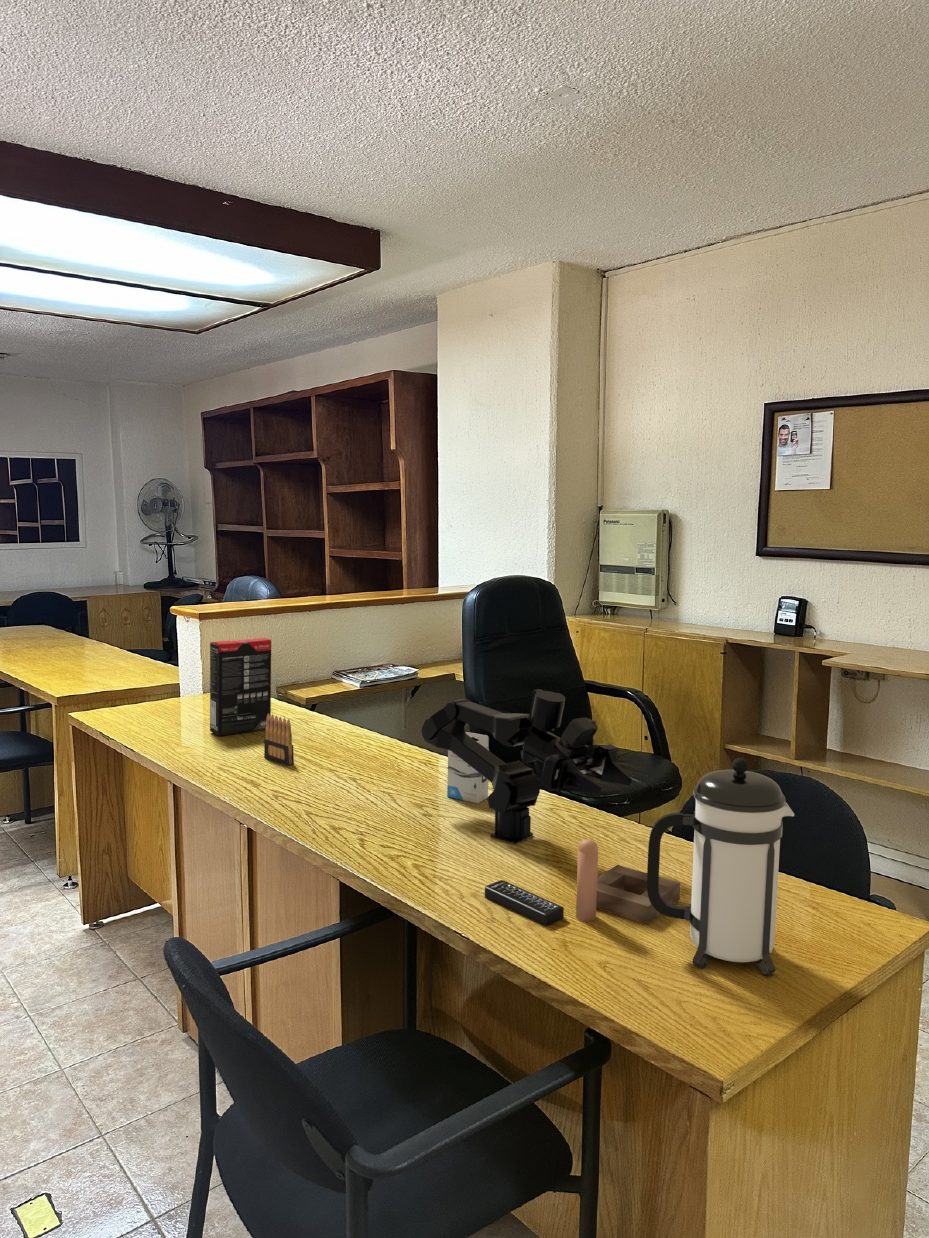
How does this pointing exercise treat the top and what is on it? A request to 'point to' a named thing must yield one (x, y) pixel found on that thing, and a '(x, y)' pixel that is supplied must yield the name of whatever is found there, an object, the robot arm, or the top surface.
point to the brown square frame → (632, 893)
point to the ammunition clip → (278, 741)
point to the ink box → (466, 776)
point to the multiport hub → (524, 903)
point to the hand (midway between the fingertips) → (616, 786)
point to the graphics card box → (240, 685)
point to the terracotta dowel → (587, 880)
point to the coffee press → (729, 866)
